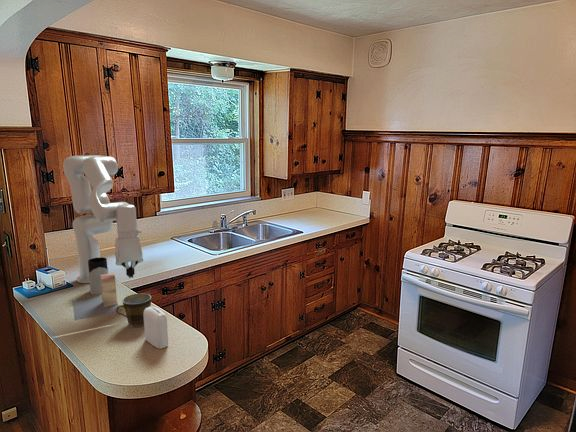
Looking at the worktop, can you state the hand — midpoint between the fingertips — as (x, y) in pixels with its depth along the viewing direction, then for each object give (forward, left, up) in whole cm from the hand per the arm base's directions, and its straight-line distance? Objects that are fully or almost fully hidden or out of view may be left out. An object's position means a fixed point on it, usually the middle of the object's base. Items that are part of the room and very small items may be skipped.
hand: (130, 276), depth 162 cm
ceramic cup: (+24, -3, -11) cm, 26 cm away
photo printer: (+41, +1, -11) cm, 42 cm away
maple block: (0, -9, -10) cm, 13 cm away
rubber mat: (0, -14, -11) cm, 18 cm away
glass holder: (-20, -11, -11) cm, 25 cm away
